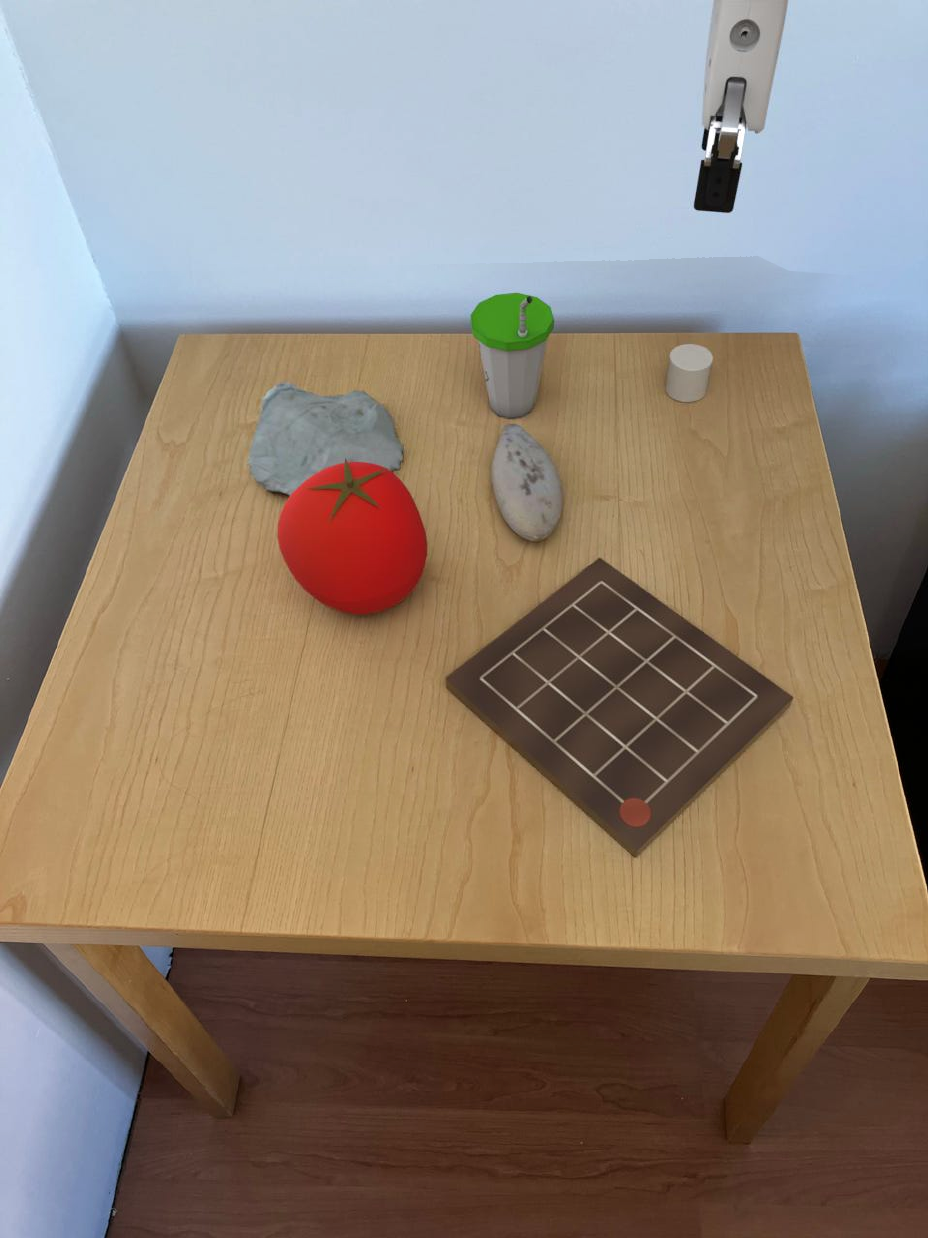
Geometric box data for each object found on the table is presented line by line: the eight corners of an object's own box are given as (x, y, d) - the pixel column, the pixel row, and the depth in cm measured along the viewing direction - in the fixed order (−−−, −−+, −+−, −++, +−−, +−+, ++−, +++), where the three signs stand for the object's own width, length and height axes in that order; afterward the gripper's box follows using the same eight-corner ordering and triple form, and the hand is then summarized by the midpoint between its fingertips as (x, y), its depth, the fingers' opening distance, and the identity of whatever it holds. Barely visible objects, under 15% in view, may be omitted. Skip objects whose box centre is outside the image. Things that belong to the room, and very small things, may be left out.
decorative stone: (539, 433, 95) (540, 406, 92) (576, 548, 85) (578, 521, 83) (478, 442, 94) (477, 415, 92) (509, 558, 85) (509, 532, 82)
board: (789, 707, 74) (794, 696, 73) (635, 859, 67) (637, 849, 66) (598, 568, 84) (599, 556, 83) (445, 688, 77) (444, 677, 76)
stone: (308, 511, 85) (205, 414, 90) (308, 541, 89) (209, 445, 94) (434, 433, 93) (333, 347, 97) (430, 463, 96) (332, 378, 101)
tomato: (454, 556, 85) (445, 451, 75) (400, 657, 79) (383, 556, 69) (331, 522, 89) (307, 416, 79) (269, 615, 82) (235, 513, 72)
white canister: (715, 388, 98) (721, 356, 94) (688, 408, 96) (694, 375, 93) (682, 370, 100) (688, 338, 96) (656, 389, 98) (660, 356, 95)
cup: (481, 375, 100) (477, 244, 89) (555, 382, 99) (561, 250, 87) (466, 425, 96) (460, 293, 84) (544, 433, 95) (548, 300, 83)
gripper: (812, 0, 63) (757, 239, 77) (812, -95, 73) (763, 132, 87) (696, -6, 64) (662, 231, 78) (712, -98, 74) (679, 126, 88)
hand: (716, 178), depth 82 cm, fingers open, 9 cm apart
